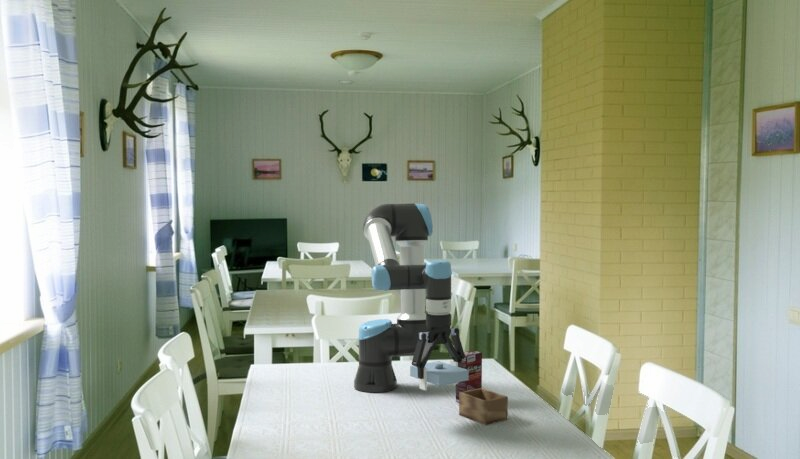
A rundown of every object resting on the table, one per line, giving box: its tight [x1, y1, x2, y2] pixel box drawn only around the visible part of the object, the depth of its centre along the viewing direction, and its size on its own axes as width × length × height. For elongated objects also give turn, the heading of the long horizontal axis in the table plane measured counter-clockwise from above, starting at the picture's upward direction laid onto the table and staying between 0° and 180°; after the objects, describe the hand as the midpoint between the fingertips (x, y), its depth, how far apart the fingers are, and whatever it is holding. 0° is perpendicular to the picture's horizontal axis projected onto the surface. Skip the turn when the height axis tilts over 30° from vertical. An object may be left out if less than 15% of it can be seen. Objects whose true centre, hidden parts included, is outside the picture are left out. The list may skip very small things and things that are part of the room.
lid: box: [409, 360, 469, 387], centre depth 214 cm, size 14×11×5 cm
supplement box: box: [455, 349, 483, 403], centre depth 237 cm, size 9×5×16 cm, turn 137°
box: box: [458, 387, 509, 426], centre depth 219 cm, size 12×9×7 cm
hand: (438, 386), depth 214 cm, fingers closed on lid, 11 cm apart
